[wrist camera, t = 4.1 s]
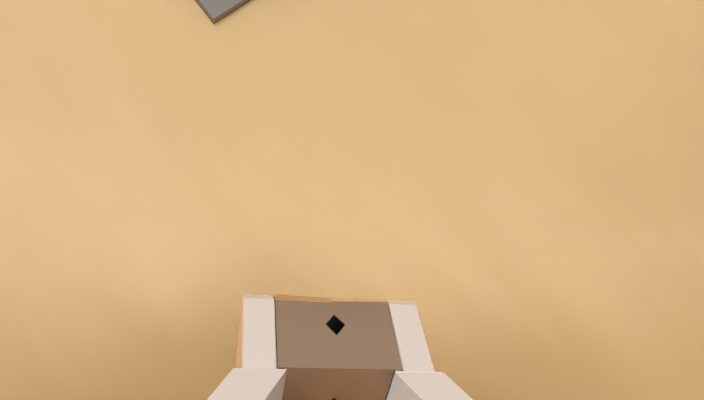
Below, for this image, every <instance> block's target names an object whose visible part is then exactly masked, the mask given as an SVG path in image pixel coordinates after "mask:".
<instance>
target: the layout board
mask: <svg viewBox="0 0 704 400" xmlns="http://www.w3.org/2000/svg"><path fill="white" fill-rule="evenodd" d="M196 1H197V3H198V4H199V5H200V7H201V8H202V9H203V10H204V12H205V13H206V14H207V16H208V17H209V18H210V19H211V21H212V22H213V23H215V22H216V21H218V20H220V19H221V18H223V17H224V16H226V15H227V14H229V13H231V12H232V11H234V10H235V9H237V8H238V7H240V6H242V5H243V4H245V3H246V2H248V1H249V0H196Z"/></svg>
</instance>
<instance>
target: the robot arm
mask: <svg viewBox="0 0 704 400" xmlns="http://www.w3.org/2000/svg"><path fill="white" fill-rule="evenodd" d="M207 400H473V399H472V398H471V397H470V396H469V395H467V394H466V393H465V392H464V391H463V390H462V389H461V388H460V387H459V386H458V385H457V384H456V383H455V382H453V381H452V380H451V379H450V378H449V377H448V376H447V375H446V374H445V373H444V372H435V369H434V365H433V362H432V358H431V355H430V351H429V348H428V344H427V341H426V337H425V334H424V330H423V327H422V323H421V320H420V316H419V313H418V309H417V306H416V304H415V303H414V301H413V300H377V299H346V298H318V297H303V296H287V295H274V296H273V295H261V294H248V293H244V295H243V298H242V307H241V316H240V325H239V334H238V345H237V357H236V368H233V369H232V370H231V371H230V372H229V373H228V375H227V376H226V377H225V378H224V379H223V381H222V382H221V383H220V384H219V385H218V387H217V388H216V389H215V390H214V391H213V392H212V394H211V395H210V396H209V397H208V398H207Z"/></svg>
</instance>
